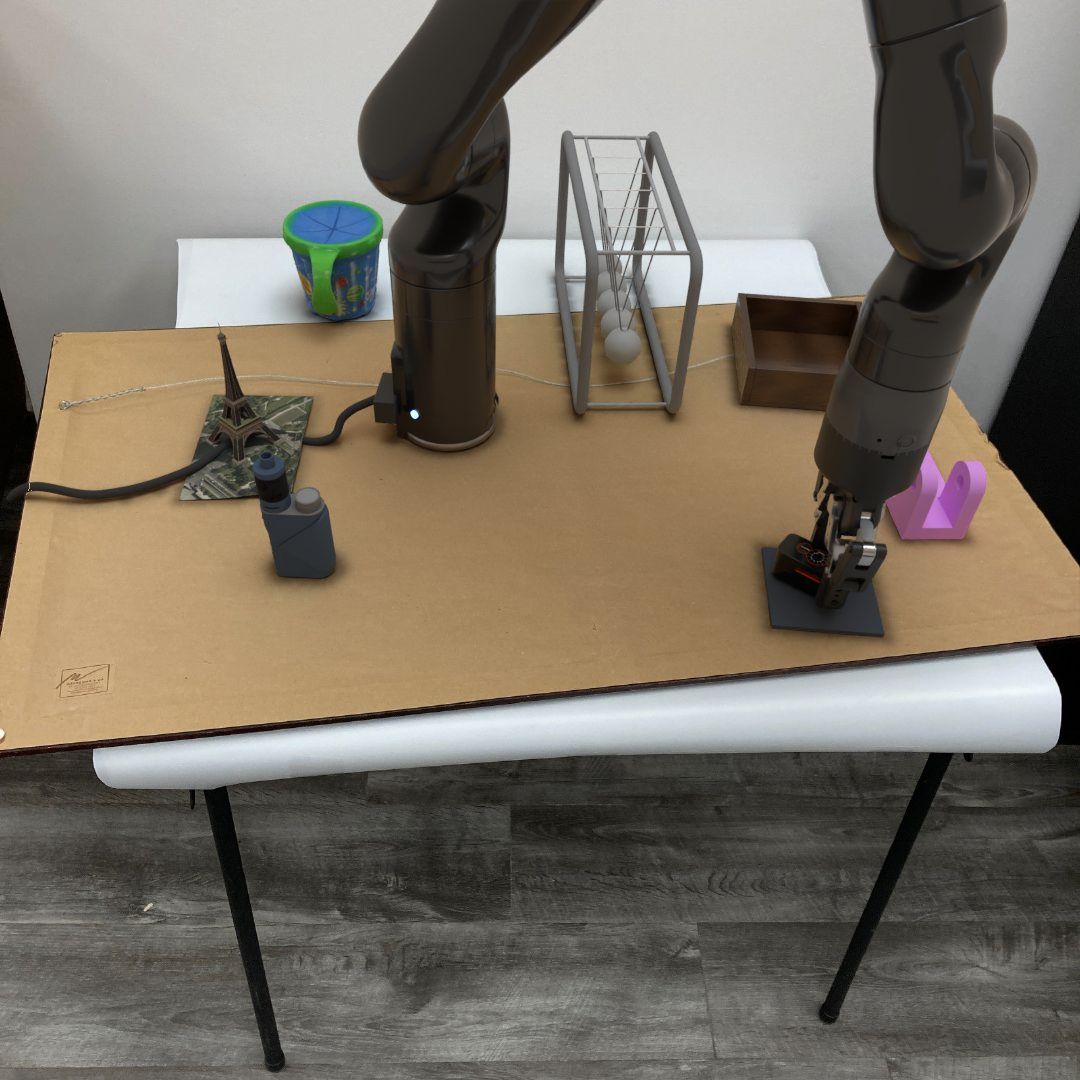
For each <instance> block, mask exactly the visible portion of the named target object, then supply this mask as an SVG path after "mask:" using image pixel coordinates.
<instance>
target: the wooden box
mask: <svg viewBox="0 0 1080 1080" xmlns="http://www.w3.org/2000/svg"><path fill="white" fill-rule="evenodd" d="M862 303H863V301H859V300H855V301H854V300H842V299H830V298H817V297H816V298H815V297H804V296H803V297H802V296H801V297H800V296H788V295H787V296H786V295H774V294H759V293H746V292H738V293H737V297H736V303H735V307H734V311H733V312H734V313H733V316H732V317H733V318H732V322H731V327H730V329H731V335H732V336H731V337H732V344H733V345H732V346H733V353H734V361H735V369H736V378H737V387H738V394H739V402H740V403H739V404H740V405H743V406H757V407H758V406H759V407H770V408H784V409H795V410H796V409H798V410H811V411H824V412H826V408H827V405H828V402H829V398H830V395H831V392H832V388H833V385H834V382H835V379H836V376H837V373H838V371H839V369H840V366H841V364H842V362H843V360H844V358H845V356H846V354H847V351H848V348H849V344H850V341H851V338H852V334H853V331H854V328H855V325H856V321H857V318H858V314H859V311H860V309H861V306H862Z"/></svg>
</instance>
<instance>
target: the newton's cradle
mask: <svg viewBox="0 0 1080 1080" xmlns="http://www.w3.org/2000/svg"><path fill="white" fill-rule="evenodd" d="M575 140H583V141H584V145H585V150H586V154H587V159H588V163H589V167H590V172H591V177H592V180H593V184H594V189H595V193H596V201H597V209H598V218H599V227H600V235H601V245H602V249H601V250H600V249H599V250H598V248H597V243H596V238H595V233H594V230H593V229H594V228H593V225H592V224H593V223H592V219H591V215H590V209H589V204H588V199H587V196H586V191H585V186H584V182H583V181H584V180H583V177H582V172H581V167H580V163H579V158H578V153H577V148H576V144H575ZM589 140H607V141H609V140H610V141H611V140H613V141H614V140H615V141H617V140H620V141H636V145H637V147H638V151H639V155H640V157H639V156H593V155H592V150H591V146H590V143H589ZM641 141H645V144H644V148H643V146H642V142H641ZM559 152H560V153H559V169H558V170H559V171H558V187H557V192H558V193H557V209H556V230H555V248H554V250H555V251H554V278H555V284H556V285H555V286H556V292H557V299H558V305H559V312H560V320H561V326H562V334H563V340H564V347H565V354H566V355H565V356H566V362H567V369H568V375H569V382H570V383H569V384H570V391H571V397H572V402H573V403H572V404H573V409H574V411H575V413H576V414H577V415H584V413H586V411H587V409H588V408H614V407H615V408H618V407H619V408H624V407H625V408H627V407H629V408H630V407H633V408H634V407H636V408H637V407H641V408H643V407H665V408H666V410H667V411H668V413H670V414H676V413H677V412H679V411H680V409H681V407H682V402H683V396H684V390H685V384H686V379H687V373H688V367H689V361H690V355H691V349H692V343H693V337H694V331H695V326H696V319H697V315H698V309H699V303H700V302H699V301H700V296H701V290H702V284H703V278H704V276H703V275H704V260H703V259H704V258H703V253H702V249H701V246H700V243H699V241H698V238H697V236H696V233H695V230H694V227H693V224H692V221H691V219H690V217H689V213H688V211H687V208H686V206H685V203H684V200H683V198H682V194H681V192H680V189H679V186H678V184H677V180H676V178H675V175H674V173H673V170H672V167H671V164H670V162H669V160H668V159H669V158H668V156H667V153H666V151H665V148H664V145H663V143H662V140H661V138H660V135H659V133H658V132H657V131H656V130H655V131H650V132H649V133H648V134H647V135H593V134H592V135H587V134H586V135H585V134H583V135H582V134H581V135H580V134H574V133H573V132H572V131H571V130H570V129H569V130H568V129H567V130H564V131H563V132H562V134H561V138H560V148H559ZM595 159H638V160H637V164H636V167H635V169H634V172H596V163H595ZM654 159H655V161H656V164H657V166H658V170H659V172H660V176H661V179H662V182H663V184H664V187H665V189H666V193H667V196H668V199H669V201H670V204H671V208H672V210H673V213H674V216H675V219H676V222H677V224H678V228H679V231H680V233H681V236H682V239H683V242H684V245H685V247H686V250H677V249H676V245H675V242H674V239H673V236H672V234H671V230H670V227H669V224H668V221H667V219H666V218H667V217H666V215H665V212H664V209H663V206H662V203H661V200H660V196H659V194H658V191H657V188H656V185H655V182H654V178H653V169H654V168H653V167H654ZM641 160H642V169H641V172H637V171H638V169H639V165H640V161H641ZM599 175H633V177H632V180H631V183H630V186H629V188H628V189H600V183H599V182H600V181H599ZM636 175H641V179H640V186H639V189H632V188H633V184H634V181H635V178H636ZM569 183H571V188H572V194H573V199H574V204H575V209H576V214H577V219H578V225H579V230H580V235H581V240H582V246H583V251H584V258H585V275H565V254H566V253H565V251H566V239H567V238H566V236H567V220H568V219H567V218H568V202H569V185H570V184H569ZM604 191H610V192H611V191H615V192H617V191H618V192H628V193H627V196H626V198H625V202H624V206H623V207H617V206H616V207H610V206H609V207H608V206H607V207H605V206H604V198H603V192H604ZM631 192H638V193H637V196H636V199H635V203H634V206H633V207H627V203H628V200H629V197H630V193H631ZM651 192H652V194H653V198H654V201H655V204H656V207H649V203H650V196H651ZM637 204H638V206H637ZM607 209H622V212H621V214H620V215H621V216H620V219H619V222H618V225H611V226H610V225H609V223H608V213H607ZM625 209H629V210H630V209H632V212H631V216H630V219H629V222H628V225H626V226H625V225H623V226H622V225H621V223H622V219H623V217H624V214H625ZM636 209H637V213H636V214H637V216H636V224H635V226H634V225H631V223H632V220H633V217H634V213H635V210H636ZM650 209H651V210H654V211H653V214H652V217H651V219H650V223H649V226H647V220H648V210H650ZM657 210H658V212H659V216H660V219H661V222H662V225H663V226H655V225H654V226H653V225H652V224H653V221H654V219H655V215H656V212H657ZM612 228H616V231H615V235H614V238H613V237H612ZM620 228H627V229H626V232H625V234H624V235H625V236H624V239H623V241H622V245H621V248H620V250H615V249H614V246H615V243H616V239H617V236H618V233H619V230H620ZM630 228H635V232H634V239H633V242H632V245H631V248H630V250H623V249H624V246H625V243H626V240H627V236H628V233H629V230H630ZM647 228H648V229H647ZM651 228H653V229H654V228H655V229H657V228H660V229H659V231H658V236H657V238H656V241H655V245H654V247H653V250H644V249H645V247H646V243H647V240H648V238H649V235H650V231H651ZM646 229H647V232H646ZM663 229H664V231H665V235H666V237H667V241H668V243H669V248H670V250H656V249H657V247H658V243H659V240H660V237H661V234H662V231H663ZM645 235H646V236H645ZM621 256H628V257H627V261H626V265H625V267H624V271H623V263H622V261H621V259H620V258H621ZM631 256H632V262H631V263H632V265H631V268H632V269H631V272H632V275H626V272H627V268H628V265H629V263H630V259H631ZM643 256H650V259H649V262H648V265H647V269H646V271H645V275H644V277H643V269H642V267H643V266H642V265H643ZM654 256H688V257H689V266H690V267H689V269H690V270H689V281H688V287H687V293H686V299H685V306H684V311H683V318H682V325H681V330H680V338H679V345H678V349H677V356H676V363H675V368H674V375H673V381H671V377H670V374H669V370H668V367H667V366H668V365H667V362H666V359H665V356H664V352H663V347H662V344H661V340H660V337H659V333H658V328H657V325H656V321H655V318H654V314H653V311H652V306H651V303H650V298H649V295H648V292H647V288H646V283H645V282H646V279H647V276H648V273H649V270H650V267H651V264H652V261H653V258H654ZM566 280H585V281H584V292H583V293H584V295H583V305H582V306H583V308H582V319H581V320H582V322H581V332H580V333H581V334H580V346H579V347H580V348H579V357H578V352H577V345H576V339H575V333H574V326H573V321H572V313H571V308H570V307H571V306H570V301H569V295H568V288H567V281H566ZM626 280H631V282H630V285H629V289H628V284H627V281H626ZM633 284H634V288H635V291H636V294H637V298H636V302H635V304H634V308H633V311H632V300H631V298H630V294H631V290H632V287H633ZM638 304H639V306H640V310H641V315H642V318H643V323H644V326H645V330H646V334H647V338H648V342H649V346H650V350H651V353H652V358H653V363H654V366H655V369H656V373H657V378H658V382H659V386H660V389H661V394H662V397H663V401H664V402H661V401H659V402H589V392H590V382H591V381H590V380H591V368H592V359H593V358H592V356H593V345H594V332H595V322H596V313H597V315H598V316H599V318H600V332H601V334H602V336H603V338H604V339H605V340H604V345H603V346H604V353H605V355H606V357H607V358H608V359H609V360H610V361H611V362H612V363H613V364H616V365H621V366H625V365H629V364H631V363H633V362H634V361H635V360H636V359H638V357H639V356H640V353H641V350H642V342H641V339H640V337H639V335H638V333H637V332H636V330H637V322H636V318H635V312H636V311H637V310H636V309H637V306H638ZM578 358H579V359H578Z"/></svg>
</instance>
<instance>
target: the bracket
mask: <svg viewBox="0 0 1080 1080" xmlns="http://www.w3.org/2000/svg"><path fill="white" fill-rule="evenodd" d="M986 488H987V473H986V469H985V467H984V465H983V464H982V462H980V460H957V461H956V462H955V463H954V464H953V466H952V468H951V471H950V474H949V475H948V478H947V479H946V482H945V480H944V478H943V476H942V474H941V472H940V470H939V468H938V466H937V464H936V462H935V461H934V459H933V456H932V455H931V453H930V451H929V449H928V450H927V453H926V455H925V458H924V460H923V463H922V465H921V468H920V470H919V473H918V475H917V478H916V480H915V482H914V483H913V484H912V485H911V486H910V487H909V488H908V489H907V490H905V491H903V492H902V493H899V494H897V495H895V496H893V497H891V498H889V499H887V500H886V508H887V509H888V512H889V514H890V516H891V518H892V521H893V523H894V525H895V527H896V530H897V532H898V534H899V537H900V539H901V540H964V537H965V536H966V534H967V531H968V530H969V527H970V526H971V524H972V521H973V519H974V517H975V516H976V513H977V511H978V508H979V506H980V505H981V502H982V501H983V497H984V496H985V493H986Z"/></svg>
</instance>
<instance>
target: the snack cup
mask: <svg viewBox="0 0 1080 1080" xmlns="http://www.w3.org/2000/svg"><path fill="white" fill-rule="evenodd" d="M383 237H384V221H383V218H382V216H381V214H380V213H379V212H378V211H377V210H375V209H374V208H372V207H370V206H368V205H367V204H364V203H360V202H357V201H351V200H345V199H326V200H320V201H319V200H318V201H313V202H310V203H307V204H303V205H301V206H298V207H297V208H294V209H293V210H292V211H290V212H289V213H288V214H287V215H286V216H285V218H284V219H283V222H282V238H283V240H284V243H285V244H286V245H287V246H288V247H289V249H290V250H291V253H292V259H293V261H294V265H295V268H296V272H297V276H298V278H299V281H300V283H301V287H302V290H303V293H304V297H305V300H306V302H307V304H308V307H309V309H310V312H312V313H314V314H317V315H319V316H321V317H322V318H325V319H329V320H333V321H336V322H337V321H341V320H352V319H355V318H359V317H360V316H362V315H367V314H368V313H369V312H371V309H372V308H373V307H374V305H375V302H376V297H377V295H376V294H377V284H378V276H379V261H380V260H379V259H380V252H381V251H380V245H381V242H382V239H383Z"/></svg>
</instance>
